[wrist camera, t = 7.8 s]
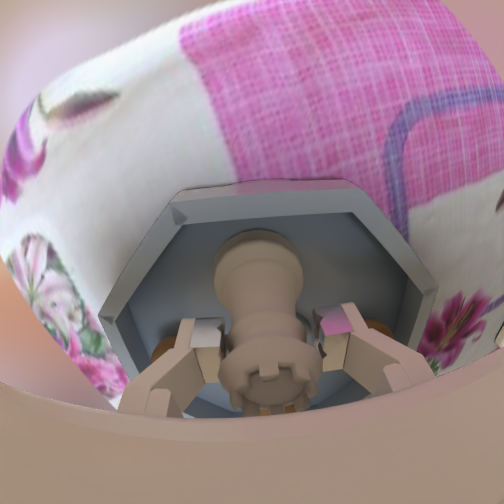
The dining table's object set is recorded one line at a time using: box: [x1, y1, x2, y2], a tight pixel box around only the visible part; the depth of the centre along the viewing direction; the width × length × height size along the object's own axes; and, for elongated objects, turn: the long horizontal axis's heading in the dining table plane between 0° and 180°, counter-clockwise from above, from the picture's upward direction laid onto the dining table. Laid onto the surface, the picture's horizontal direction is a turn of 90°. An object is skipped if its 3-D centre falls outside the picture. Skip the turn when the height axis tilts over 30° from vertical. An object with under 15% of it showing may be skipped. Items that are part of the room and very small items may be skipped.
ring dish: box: [98, 179, 438, 418], centre depth 16 cm, size 19×19×3 cm
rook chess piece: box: [213, 230, 323, 417], centre depth 11 cm, size 4×4×8 cm
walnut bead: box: [151, 335, 177, 364], centre depth 15 cm, size 4×4×4 cm
